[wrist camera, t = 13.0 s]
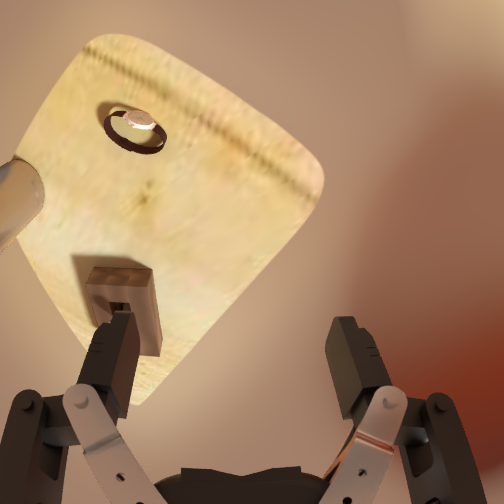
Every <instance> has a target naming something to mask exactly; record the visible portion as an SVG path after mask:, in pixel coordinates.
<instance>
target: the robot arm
mask: <svg viewBox="0 0 504 504" xmlns="http://www.w3.org/2000/svg"><path fill="white" fill-rule="evenodd" d="M43 203H44V188H43V184H42V181H41V179H40V177H39V175H38V173H37V172H36V170H35V169H34V168H33V167H32V166H31V165H29V164H28V163H26V162H24V161H21V160H12V161H10V162H7V163H6V164H4V165H2V166H1V167H0V254H1V253H2V252H3V251H4V250H5V248H6V247H7V246H8V245H9V244H10V243H11V242H12V241H13V240H14V239H15V237H16V236H17V235H18V234H19V233H20V232H21V231H22V230H23V229H24V228H25V227H26V226H27V225H28V224H29V223H30V222H31V221H32V220H33V218H34V217H35V216H36V215H37V214H38V213H39V212H40V211H41V209H42V207H43ZM325 352H326V358H327V361H328V365H329V368H330V372H331V376H332V379H333V383H334V387H335V390H336V394H337V398H338V402H339V406H340V409H341V413H342V417H343V420H347V419H352V420H353V423H354V425H353V427H352V428H351V430H350V432H349V434H348V436H347V438H346V440H345V441H344V443H343V445H342V447H341V449H340V451H339V452H338V454H337V456H336V458H335V460H334V461H333V463H332V464H331V466H330V467H329V469H328V470H327V471H326V473H325V475H324V476H323V478H319V477H317V476H315V475H312V474H308V473H303V472H301V467H300V466H297V467H284V468H272V469H268V470H264V471H261V472H257V473H253V474H249V475H245V476H237V475H233V474H228V473H224V472H219V471H216V470H212V469H193V468H181V474H177V475H173V476H170V477H167V478H164V479H162V480H160V481H158V482H157V483H155V484H154V485H153V483H152V482H151V480H150V479H149V478H148V476H147V475H146V474H145V472H144V471H143V469H142V468H141V466H140V465H139V463H138V462H137V460H136V459H135V457H134V456H133V454H132V453H131V451H130V449H129V448H128V446H127V445H126V443H125V442H124V440H123V438H122V437H121V435H120V433H119V431H118V430H117V428H116V424H117V420H118V418H124V419H126V417H127V412H128V406H129V401H130V396H131V391H132V386H133V381H134V376H135V372H136V367H137V362H138V358H139V354H140V336H139V331H138V327H137V322H136V318H135V314H134V312H128V311H115V312H114V314H113V317H112V320H111V323H104V322H103V323H102V324H101V325H100V326H99V327H98V329H97V330H96V331H95V333H94V335H93V338H92V341H91V344H90V346H89V349H88V352H87V355H86V358H85V360H84V363H83V366H82V369H81V372H80V375H79V378H78V381H77V383H76V385H73V386H71V387H70V388H69V389H68V390H67V391H66V392H65V394H63V395H59V396H52V397H41V395H40V394H39V393H38V392H36V391H35V390H30V389H29V390H23V391H21V392H20V393H18V394H17V395H16V397H15V398H14V400H13V402H12V406H11V409H10V412H9V415H8V418H7V422H6V425H5V429H4V432H3V436H2V440H1V444H0V504H61V501H62V492H63V483H64V476H65V468H66V462H67V455H68V449H69V446H72V445H81V446H82V448H83V450H84V452H83V454H84V457H85V459H86V461H87V463H88V465H89V467H90V469H91V471H92V472H93V474H94V476H95V478H96V480H97V481H98V483H99V485H100V486H101V488H102V490H103V491H104V493H105V495H106V497H107V498H108V500H109V501H110V503H111V504H371V503H372V501H373V499H374V497H375V495H376V493H377V491H378V489H379V487H380V484H381V482H382V480H383V478H384V476H385V474H386V471H387V469H388V467H389V464H390V462H391V460H392V457H393V454H394V449H392V447H393V445H398V446H399V450H400V454H401V458H402V462H403V466H404V471H405V475H406V480H407V484H408V489H409V493H410V498H411V503H412V504H487V501H486V497H485V494H484V490H483V487H482V483H481V480H480V477H479V473H478V470H477V466H476V463H475V460H474V457H473V454H472V452H471V448H470V445H469V443H468V439H467V437H466V434H465V431H464V428H463V426H462V423H461V420H460V418H459V415H458V412H457V410H456V407H455V405H454V403H453V401H452V399H451V398H450V397H448V396H447V395H445V394H443V393H433V394H431V395H430V396H429V397H428V398H427V399H426V400H423V399H416V398H409V397H406V396H405V394H404V393H403V392H402V391H401V390H400V389H398V388H396V387H394V386H393V385H392V383H391V380H390V378H389V375H388V373H387V370H386V368H385V365H384V363H383V360H382V358H381V357H380V353H379V351H378V349H377V346H376V344H375V341H374V339H373V337H372V336H371V334H370V333H369V332H368V331H367V330H366V329H365V328H358V325H357V323H356V320H355V318H354V317H353V316H344V317H343V316H341V317H335V318H334V319H333V322H332V325H331V328H330V331H329V334H328V337H327V340H326V345H325Z"/></svg>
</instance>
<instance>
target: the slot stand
mask: <svg viewBox="0 0 504 504" xmlns="http://www.w3.org/2000/svg"><path fill="white" fill-rule="evenodd" d="M86 287H87V291H88V294H89V298H90V301H91V304H92V308H93V311H94V314H95V317H96V320H97V324H98V327H99V326H100V325H101V324H102V323H103V322H104V323H109V321H110V320H111V319H112V317H113V314H114V312H115V311H122V309H121V305H120V302H122V303H130V308H131V312H134V314H135V318H136V322H137V327H138V331H139V336H140V354H139V355H143V356H156V357H160V351H161V346H162V340H163V338H162V332H161V326H160V320H159V313H158V306H157V300H156V292H155V285H154V277H153V270H147V269H122V268H100V267H94V269H93V271H92V273H91V274H90V276H89V278H88V280H87V282H86Z"/></svg>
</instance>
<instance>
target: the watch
mask: <svg viewBox="0 0 504 504" xmlns="http://www.w3.org/2000/svg"><path fill="white" fill-rule="evenodd" d="M111 116H119V117H122V118H125V120H126V121H127V123H128V124H130V125H131V126H133V127H132V128H139V129H151V130H153V131H155V132H156V133H157V134H159V135H160V137H161V138H162V140H163V144H162V145H161V146H158V147H153V148H150V147H143V146H140V145H137V144H135V143H133V142H131V141H129V140H128V139H126V138H124V139H123V138H122V137H121V136H120V135H118V134H117V133H116V132H115V131H114V130H113V128H112V126H111V121H110V120H111ZM104 130H105V132H106V134H107V135H108V137H109V138H110V139H111V140H112V141H114V142H115V143H116V144H118V145H119V146H121V147H122V148H124V149H126V150H128V151H130V152H131V151H134V152H136V153H140V154H155V153H157V152H159V151H160V150H162V148H163V147H164V144H165V142H166V140H167V135H166V133H165V131H164V130H163V129H162V128H161V127H160V126H159V125H157V123H154V119H153V118H152V116H150V115H149V114H147V113H145V112H143V111H130V112H129V111H128V112H126V111H116V112H114V113H112V114H111V115H109V116H108V117H107V118H106V119H105V121H104Z"/></svg>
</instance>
